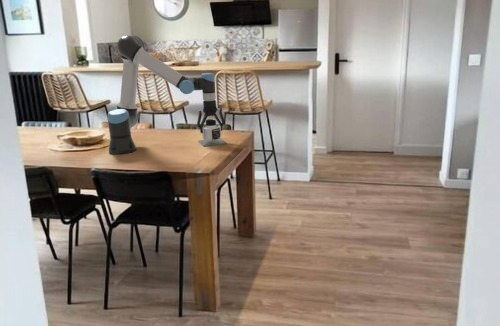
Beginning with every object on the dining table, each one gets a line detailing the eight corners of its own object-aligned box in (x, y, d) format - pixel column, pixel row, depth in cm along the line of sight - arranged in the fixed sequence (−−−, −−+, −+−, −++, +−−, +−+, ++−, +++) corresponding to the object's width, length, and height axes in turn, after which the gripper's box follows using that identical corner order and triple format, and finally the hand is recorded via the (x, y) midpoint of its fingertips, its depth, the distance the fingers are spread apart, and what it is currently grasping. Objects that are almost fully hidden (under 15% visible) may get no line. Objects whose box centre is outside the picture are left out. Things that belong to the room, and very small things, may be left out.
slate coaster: (203, 146, 263) (203, 145, 262) (198, 141, 275) (198, 140, 275) (226, 143, 267) (226, 142, 267) (220, 139, 280) (220, 137, 279)
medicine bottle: (212, 141, 266) (211, 121, 262) (203, 139, 270) (202, 120, 267) (220, 138, 271) (219, 118, 268) (211, 137, 275) (210, 118, 272)
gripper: (192, 102, 257) (195, 140, 263) (229, 99, 264) (231, 136, 270) (189, 100, 264) (192, 138, 270) (225, 97, 271) (227, 134, 277)
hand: (211, 137), depth 270 cm, fingers closed on medicine bottle, 10 cm apart
